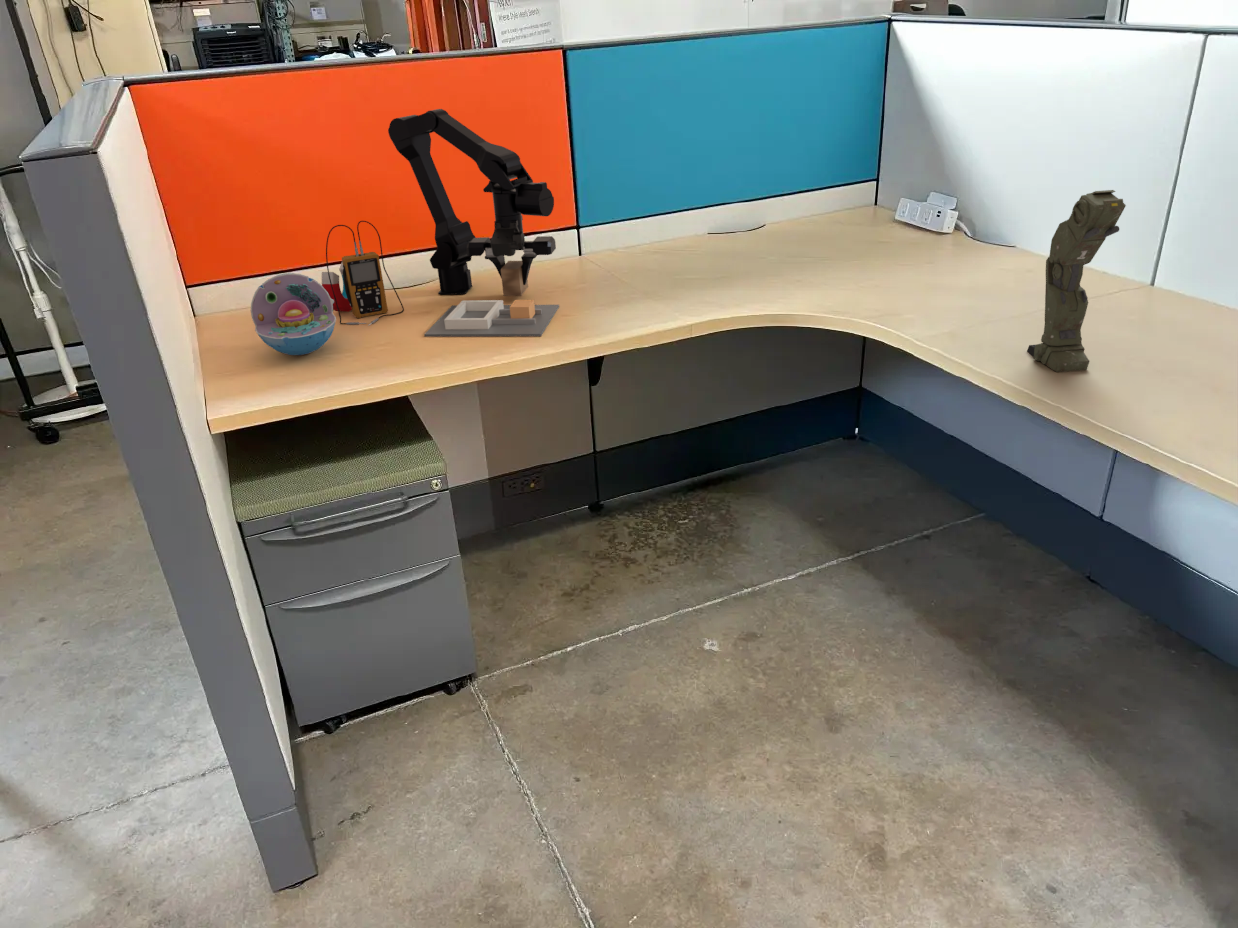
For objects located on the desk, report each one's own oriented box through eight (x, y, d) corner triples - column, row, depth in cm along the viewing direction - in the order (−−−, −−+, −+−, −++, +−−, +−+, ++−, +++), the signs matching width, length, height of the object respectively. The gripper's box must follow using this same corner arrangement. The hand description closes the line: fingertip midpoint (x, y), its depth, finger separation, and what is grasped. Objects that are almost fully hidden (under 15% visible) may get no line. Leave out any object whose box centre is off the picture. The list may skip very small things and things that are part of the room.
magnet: (352, 302, 204) (344, 259, 199) (364, 302, 203) (355, 259, 199) (328, 318, 194) (318, 273, 189) (339, 319, 193) (330, 273, 188)
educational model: (265, 374, 165) (245, 295, 158) (258, 344, 180) (240, 271, 173) (351, 359, 170) (335, 282, 163) (337, 331, 186) (322, 259, 179)
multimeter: (345, 331, 185) (326, 235, 176) (335, 319, 193) (316, 226, 184) (414, 318, 191) (399, 224, 181) (402, 307, 199) (387, 216, 189)
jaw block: (503, 296, 197) (500, 269, 194) (511, 287, 203) (508, 261, 200) (521, 296, 196) (518, 269, 193) (528, 286, 202) (525, 260, 199)
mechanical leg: (1011, 339, 160) (1061, 178, 140) (1050, 336, 160) (1106, 175, 140) (1046, 384, 149) (1105, 217, 130) (1087, 381, 150) (1153, 214, 130)
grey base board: (424, 336, 180) (422, 324, 178) (452, 307, 196) (450, 296, 195) (541, 336, 176) (539, 324, 175) (559, 306, 193) (558, 295, 192)
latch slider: (511, 321, 183) (509, 307, 182) (516, 313, 188) (515, 299, 186) (530, 321, 183) (528, 307, 181) (535, 313, 187) (533, 299, 186)
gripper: (455, 223, 186) (464, 295, 193) (542, 221, 183) (549, 295, 190) (470, 211, 196) (478, 281, 203) (553, 209, 193) (558, 280, 200)
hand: (515, 284), depth 199 cm, fingers closed on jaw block, 4 cm apart
